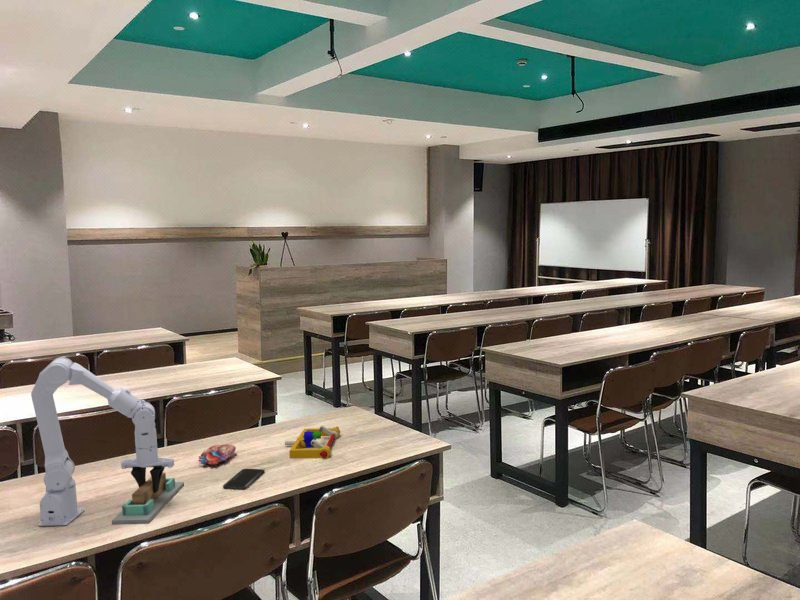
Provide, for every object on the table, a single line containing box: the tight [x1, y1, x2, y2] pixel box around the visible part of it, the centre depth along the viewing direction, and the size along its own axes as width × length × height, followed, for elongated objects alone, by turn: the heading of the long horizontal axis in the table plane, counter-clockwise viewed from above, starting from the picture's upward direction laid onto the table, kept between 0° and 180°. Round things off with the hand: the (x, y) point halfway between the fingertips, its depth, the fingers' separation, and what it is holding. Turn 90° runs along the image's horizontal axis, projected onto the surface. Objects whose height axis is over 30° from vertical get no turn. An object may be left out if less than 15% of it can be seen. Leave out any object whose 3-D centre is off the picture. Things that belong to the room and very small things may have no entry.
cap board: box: [111, 477, 185, 525], centre depth 180 cm, size 26×10×4 cm, turn 179°
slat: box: [131, 472, 167, 505], centre depth 180 cm, size 16×3×5 cm, turn 179°
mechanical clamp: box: [284, 425, 341, 459], centre depth 227 cm, size 18×6×30 cm
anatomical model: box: [198, 443, 237, 466], centre depth 213 cm, size 11×6×15 cm
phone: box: [222, 468, 265, 491], centre depth 195 cm, size 8×1×15 cm
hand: (149, 491), depth 180 cm, fingers closed on slat, 3 cm apart
